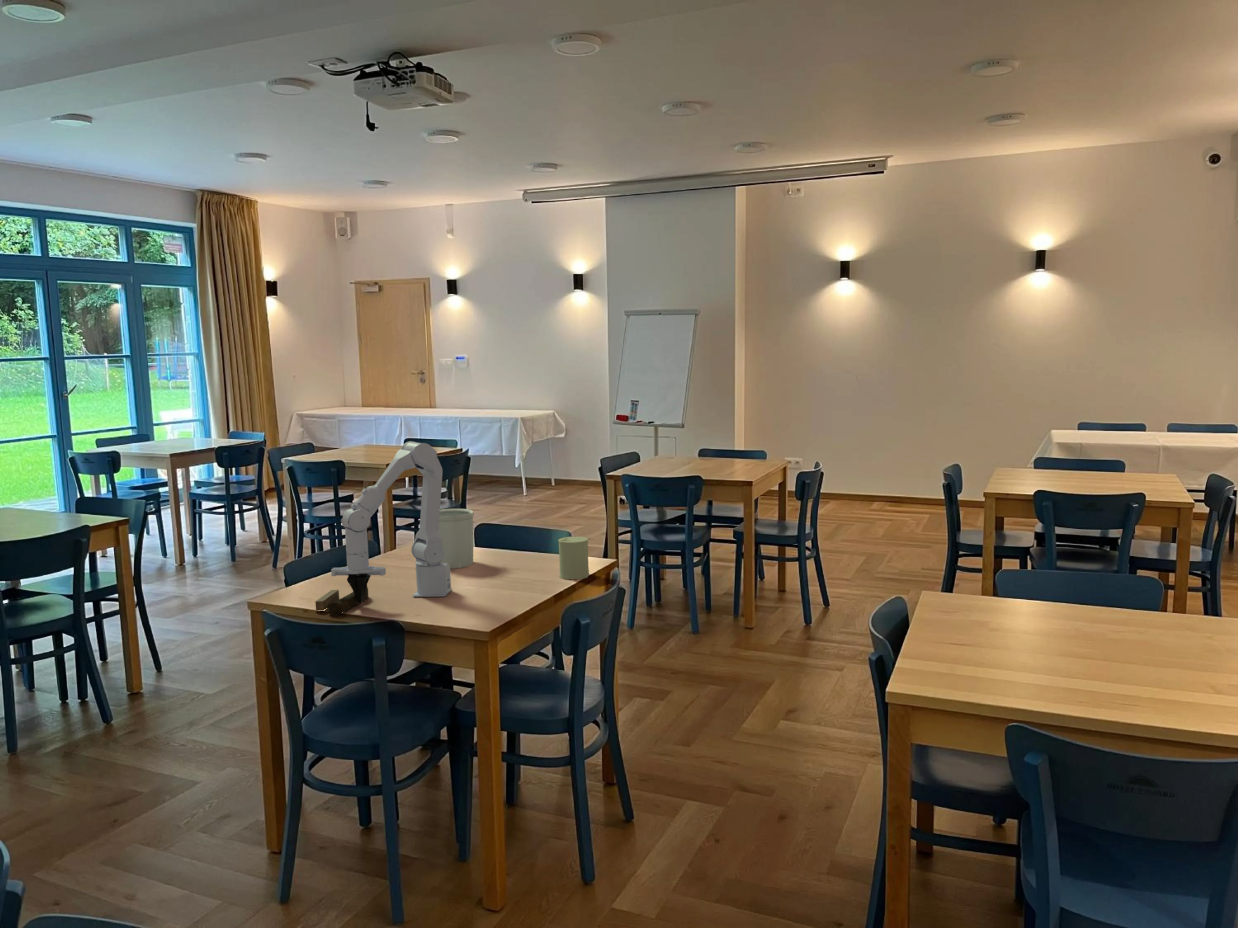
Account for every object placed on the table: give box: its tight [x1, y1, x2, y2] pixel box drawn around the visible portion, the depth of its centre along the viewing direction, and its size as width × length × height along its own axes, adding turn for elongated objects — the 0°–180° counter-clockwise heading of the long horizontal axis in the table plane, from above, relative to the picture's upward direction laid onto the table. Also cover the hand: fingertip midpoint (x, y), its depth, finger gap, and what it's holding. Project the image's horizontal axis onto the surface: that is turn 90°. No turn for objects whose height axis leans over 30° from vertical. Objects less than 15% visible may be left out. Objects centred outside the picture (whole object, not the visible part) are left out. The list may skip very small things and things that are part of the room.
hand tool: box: [327, 585, 369, 617], centre depth 247 cm, size 19×4×5 cm, turn 166°
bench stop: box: [314, 589, 340, 611], centre depth 248 cm, size 2×12×3 cm, turn 177°
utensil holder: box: [438, 508, 475, 570], centre depth 294 cm, size 15×15×18 cm
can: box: [557, 536, 590, 580], centre depth 275 cm, size 9×9×12 cm
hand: (360, 600), depth 246 cm, fingers closed
